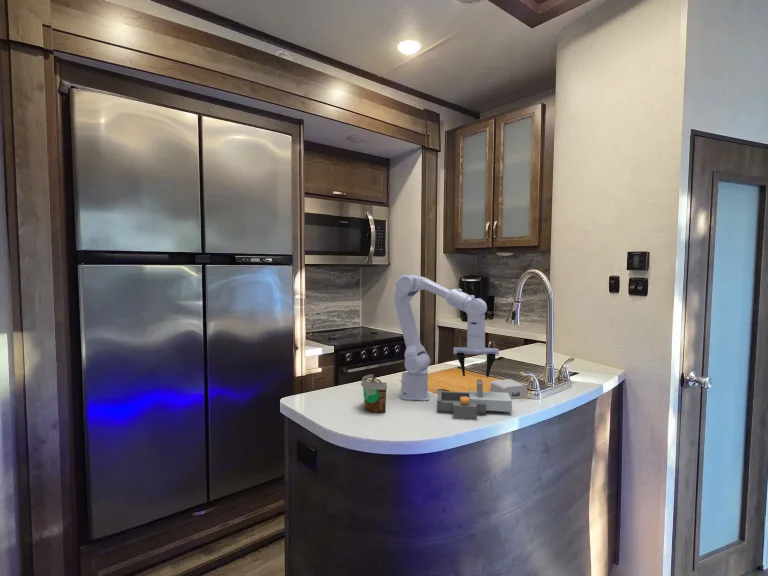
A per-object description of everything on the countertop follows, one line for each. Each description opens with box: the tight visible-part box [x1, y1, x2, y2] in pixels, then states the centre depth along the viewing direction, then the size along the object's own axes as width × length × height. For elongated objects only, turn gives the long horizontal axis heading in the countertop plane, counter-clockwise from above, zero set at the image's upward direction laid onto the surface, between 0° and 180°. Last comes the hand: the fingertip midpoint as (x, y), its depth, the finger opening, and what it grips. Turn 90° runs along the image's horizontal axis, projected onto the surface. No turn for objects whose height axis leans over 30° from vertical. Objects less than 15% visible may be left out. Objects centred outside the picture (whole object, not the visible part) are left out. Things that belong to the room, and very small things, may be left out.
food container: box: [360, 373, 388, 414], centre depth 128 cm, size 12×6×10 cm, turn 23°
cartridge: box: [468, 379, 513, 413], centre depth 127 cm, size 13×9×8 cm
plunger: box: [460, 396, 469, 404], centre depth 121 cm, size 3×3×2 cm
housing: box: [436, 389, 487, 421], centre depth 127 cm, size 15×16×4 cm
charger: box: [489, 378, 528, 400], centre depth 145 cm, size 5×9×15 cm
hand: (475, 375), depth 130 cm, fingers open, 7 cm apart
